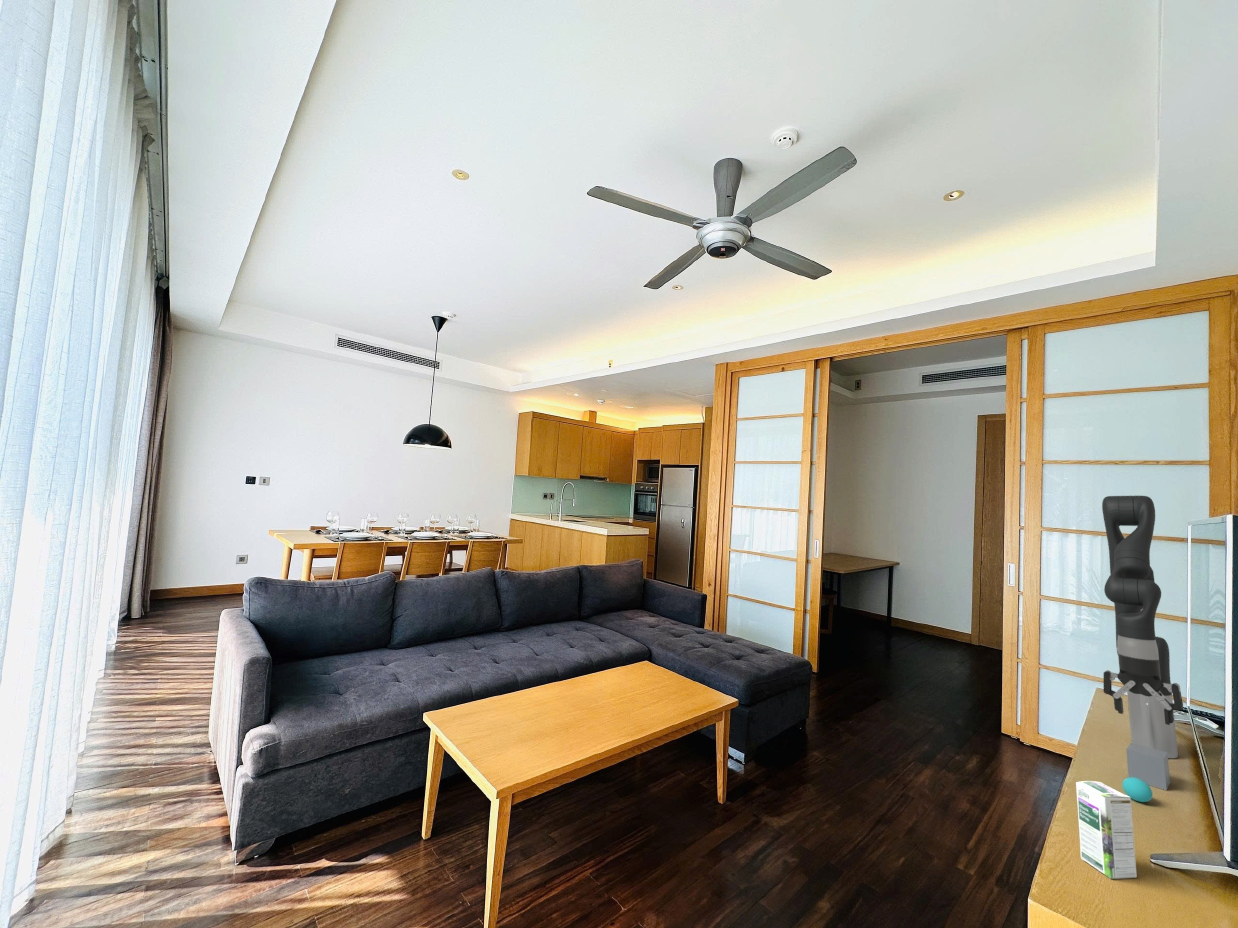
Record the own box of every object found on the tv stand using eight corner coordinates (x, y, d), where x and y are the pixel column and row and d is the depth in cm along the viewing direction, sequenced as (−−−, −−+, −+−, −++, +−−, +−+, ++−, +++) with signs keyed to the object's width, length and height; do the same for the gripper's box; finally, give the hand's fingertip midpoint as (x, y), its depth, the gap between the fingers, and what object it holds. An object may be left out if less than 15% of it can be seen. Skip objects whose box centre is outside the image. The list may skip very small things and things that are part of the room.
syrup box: (1079, 858, 97) (1073, 780, 98) (1106, 857, 97) (1100, 779, 99) (1110, 879, 91) (1103, 796, 92) (1139, 878, 91) (1132, 795, 93)
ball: (1125, 792, 121) (1123, 770, 122) (1155, 802, 117) (1153, 779, 118) (1121, 798, 118) (1119, 776, 119) (1151, 808, 114) (1149, 786, 115)
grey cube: (1133, 771, 132) (1131, 742, 132) (1170, 782, 126) (1167, 752, 127) (1128, 778, 128) (1126, 748, 128) (1166, 790, 122) (1163, 759, 123)
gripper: (1180, 659, 127) (1186, 724, 125) (1104, 646, 138) (1109, 706, 137) (1176, 663, 122) (1182, 731, 121) (1097, 650, 134) (1103, 712, 132)
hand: (1143, 718), depth 129 cm, fingers open, 8 cm apart
